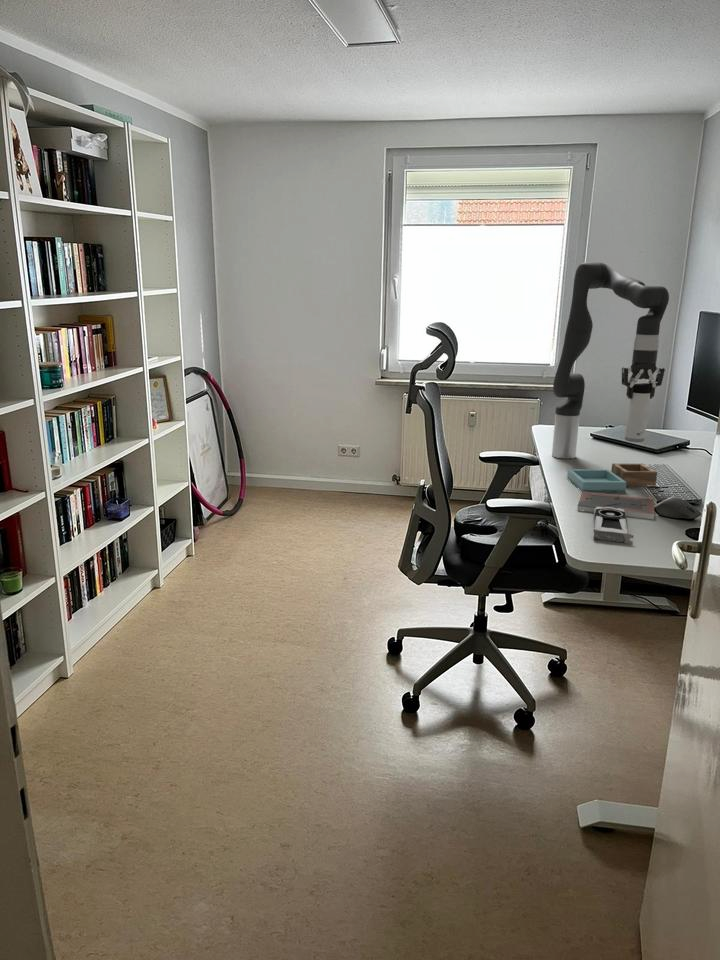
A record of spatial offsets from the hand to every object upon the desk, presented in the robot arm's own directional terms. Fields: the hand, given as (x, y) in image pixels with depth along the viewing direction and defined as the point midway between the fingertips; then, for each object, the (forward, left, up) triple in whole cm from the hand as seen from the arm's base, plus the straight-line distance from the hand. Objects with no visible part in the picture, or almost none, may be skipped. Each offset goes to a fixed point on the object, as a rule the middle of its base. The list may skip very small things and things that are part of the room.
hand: (639, 398), depth 231 cm
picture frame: (+29, -16, -30) cm, 45 cm away
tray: (+5, -14, -29) cm, 33 cm away
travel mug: (0, 0, -15) cm, 15 cm away
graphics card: (+48, -24, -30) cm, 61 cm away
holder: (0, +1, -29) cm, 29 cm away
